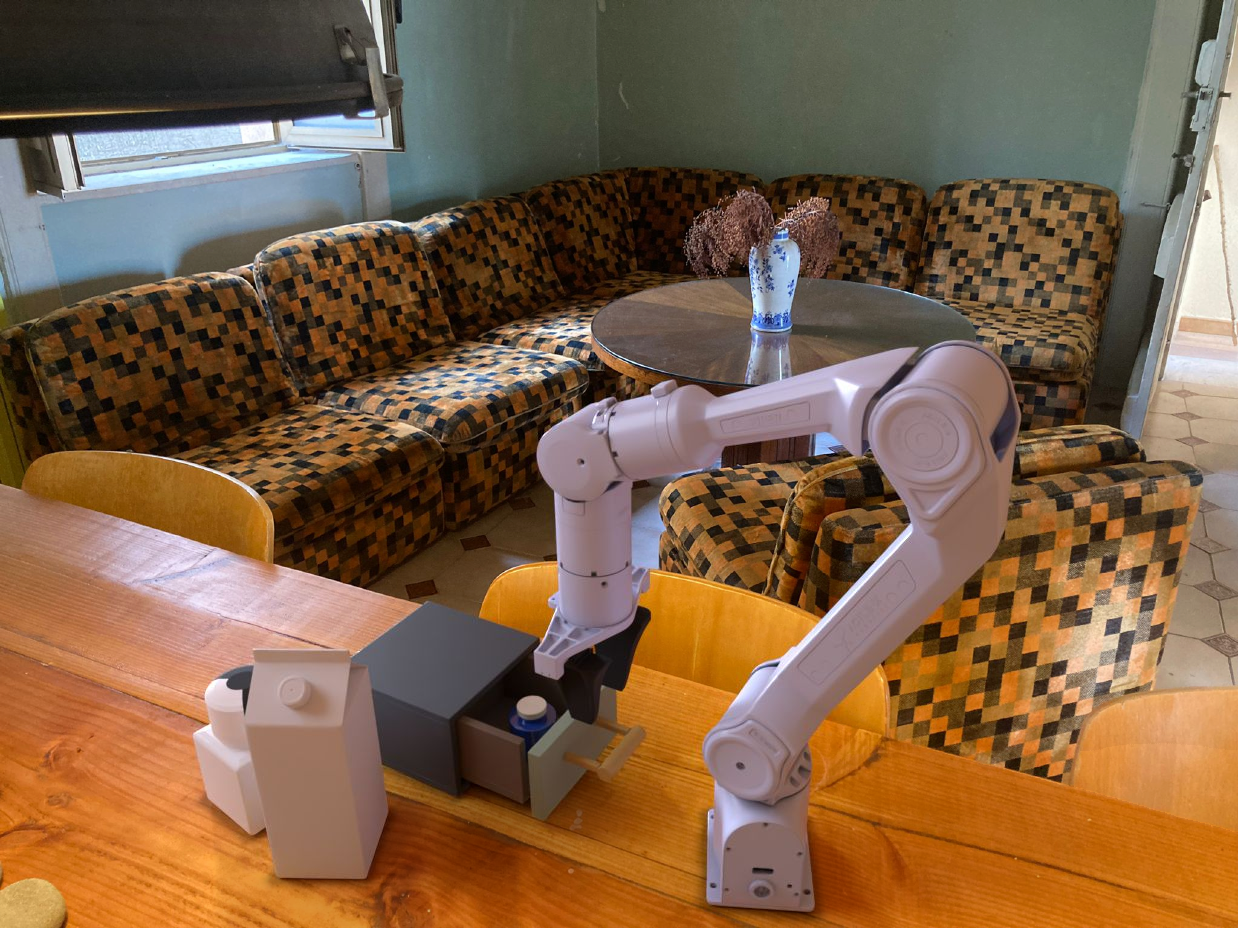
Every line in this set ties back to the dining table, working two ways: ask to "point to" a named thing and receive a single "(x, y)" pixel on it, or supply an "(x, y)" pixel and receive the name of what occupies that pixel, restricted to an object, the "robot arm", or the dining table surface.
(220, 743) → the medicine bottle
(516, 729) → the spice bottle
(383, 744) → the cabinet
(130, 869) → the dining table surface
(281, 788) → the milk carton
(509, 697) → the drawer
